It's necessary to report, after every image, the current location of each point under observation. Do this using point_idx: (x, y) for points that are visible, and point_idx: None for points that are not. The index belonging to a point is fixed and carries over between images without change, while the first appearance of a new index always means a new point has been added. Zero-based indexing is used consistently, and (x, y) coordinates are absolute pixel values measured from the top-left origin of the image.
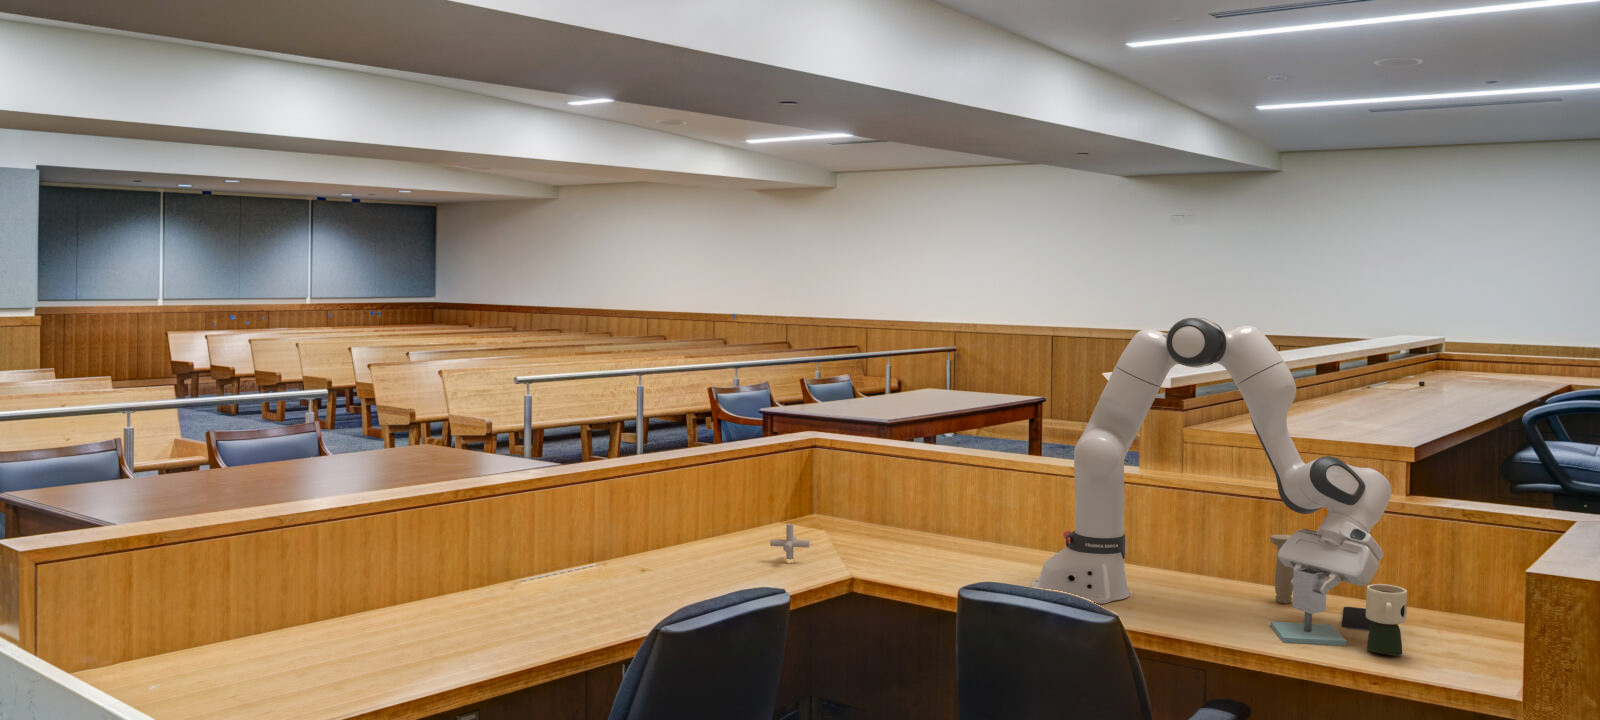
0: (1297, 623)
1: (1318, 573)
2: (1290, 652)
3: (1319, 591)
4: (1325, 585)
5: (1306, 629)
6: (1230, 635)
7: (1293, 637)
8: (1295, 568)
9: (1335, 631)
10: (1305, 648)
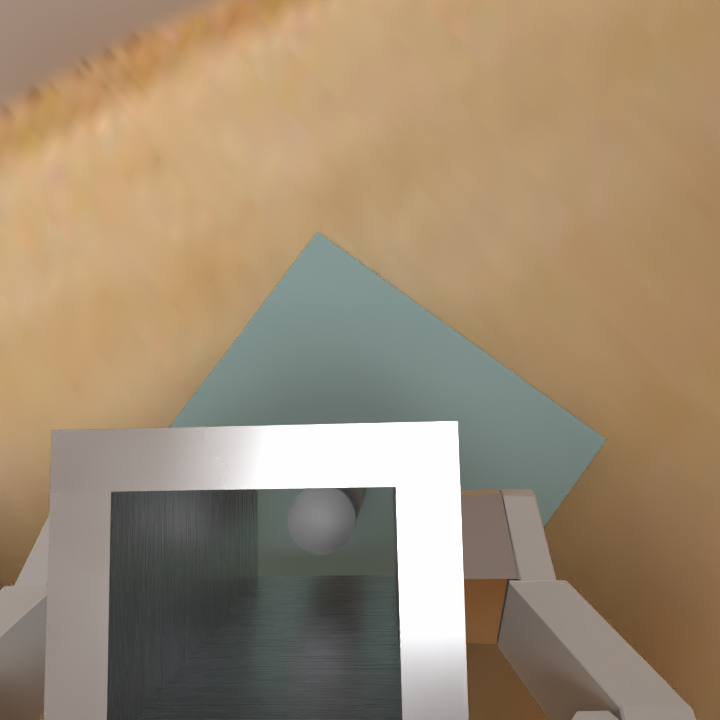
0: None
1: (78, 625)
2: (180, 138)
3: None
4: (25, 572)
5: None
6: (561, 66)
7: (289, 290)
8: (650, 701)
9: None
10: (187, 271)
